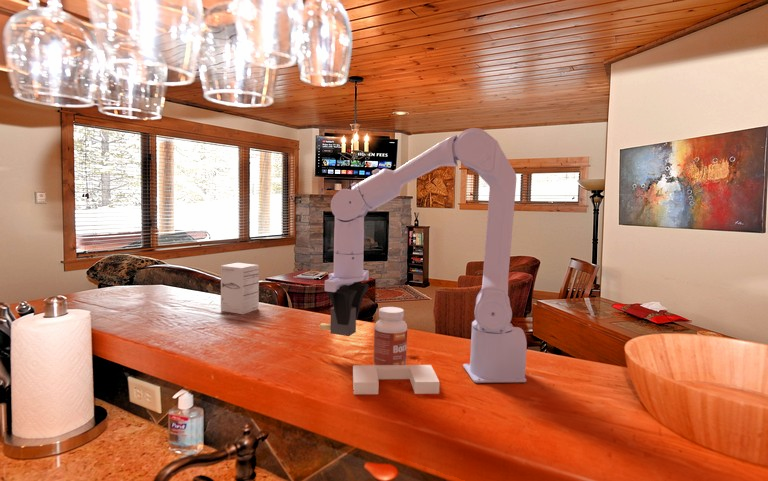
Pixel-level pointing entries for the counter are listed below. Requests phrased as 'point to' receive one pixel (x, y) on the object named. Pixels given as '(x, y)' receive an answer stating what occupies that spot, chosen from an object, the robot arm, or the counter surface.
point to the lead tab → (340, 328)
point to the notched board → (394, 377)
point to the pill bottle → (390, 337)
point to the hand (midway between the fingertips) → (347, 321)
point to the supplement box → (239, 288)
